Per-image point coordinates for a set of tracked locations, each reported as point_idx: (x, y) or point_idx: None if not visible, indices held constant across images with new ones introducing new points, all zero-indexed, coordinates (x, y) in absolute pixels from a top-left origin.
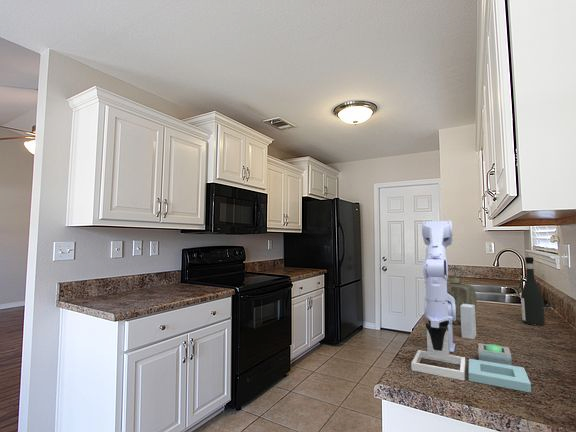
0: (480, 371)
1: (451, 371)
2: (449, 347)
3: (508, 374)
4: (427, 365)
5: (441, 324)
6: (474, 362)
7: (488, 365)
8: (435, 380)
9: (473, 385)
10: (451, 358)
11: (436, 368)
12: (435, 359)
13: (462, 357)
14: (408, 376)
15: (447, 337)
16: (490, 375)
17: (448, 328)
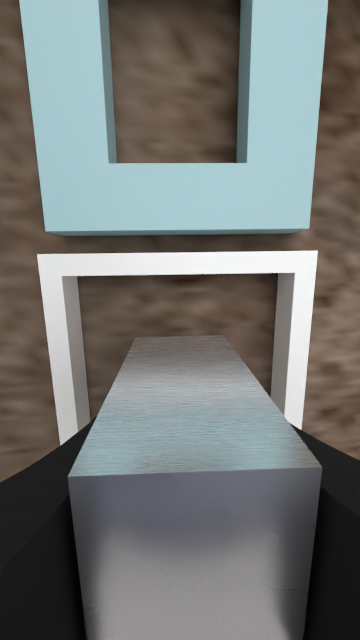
0: (257, 163)
1: (309, 311)
2: (137, 356)
3: (107, 15)
4: (296, 420)
5: (50, 633)
6: (106, 198)
7: (106, 112)
8: (350, 363)
9: (337, 212)
10: (72, 327)
11: (302, 378)
12: (87, 396)
13: (48, 269)
14: (353, 457)
15: (278, 414)
16: (298, 107)
17: (109, 477)
